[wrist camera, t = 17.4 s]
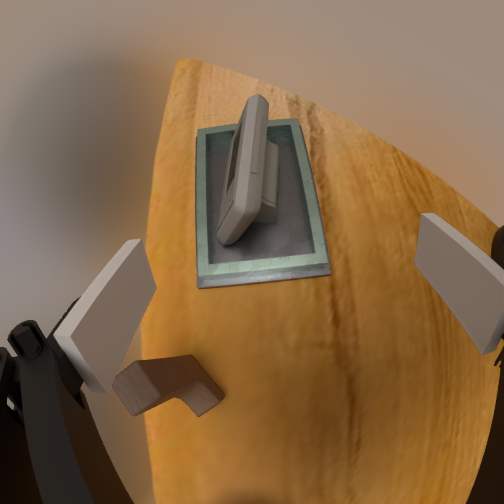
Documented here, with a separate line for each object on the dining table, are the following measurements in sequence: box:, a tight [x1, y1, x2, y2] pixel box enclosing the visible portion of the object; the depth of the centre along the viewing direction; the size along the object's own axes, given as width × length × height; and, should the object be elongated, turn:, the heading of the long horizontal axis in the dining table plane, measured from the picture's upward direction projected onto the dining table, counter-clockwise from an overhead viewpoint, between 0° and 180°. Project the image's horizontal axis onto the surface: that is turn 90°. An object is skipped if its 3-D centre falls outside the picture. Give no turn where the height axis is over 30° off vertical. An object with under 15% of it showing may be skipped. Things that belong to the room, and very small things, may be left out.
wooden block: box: [112, 355, 225, 417], centre depth 24 cm, size 7×3×15 cm, turn 40°
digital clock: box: [217, 94, 279, 245], centre depth 32 cm, size 16×9×11 cm, turn 164°
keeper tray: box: [195, 118, 331, 289], centre depth 37 cm, size 16×23×4 cm
